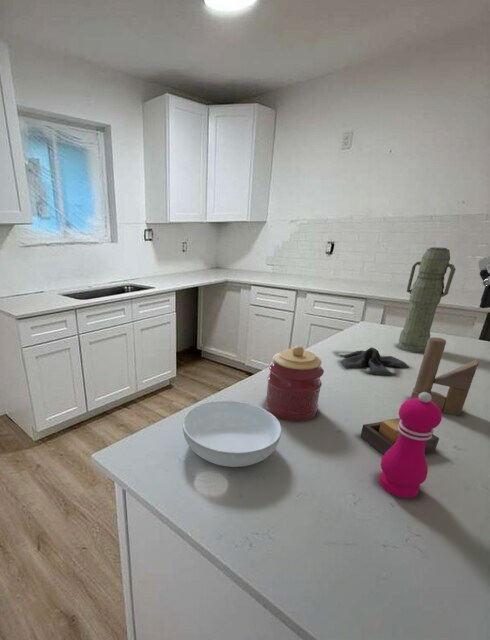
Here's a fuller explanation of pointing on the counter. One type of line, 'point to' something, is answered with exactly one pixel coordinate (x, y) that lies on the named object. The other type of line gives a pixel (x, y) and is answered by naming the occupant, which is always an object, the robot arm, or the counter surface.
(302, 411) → the kitchen canister
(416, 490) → the pepper mill
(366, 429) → the socket
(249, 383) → the counter surface
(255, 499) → the counter surface
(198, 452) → the serving bowl
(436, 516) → the counter surface
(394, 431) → the tan rectangular block
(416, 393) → the wooden block structure
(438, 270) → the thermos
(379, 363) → the cloth
